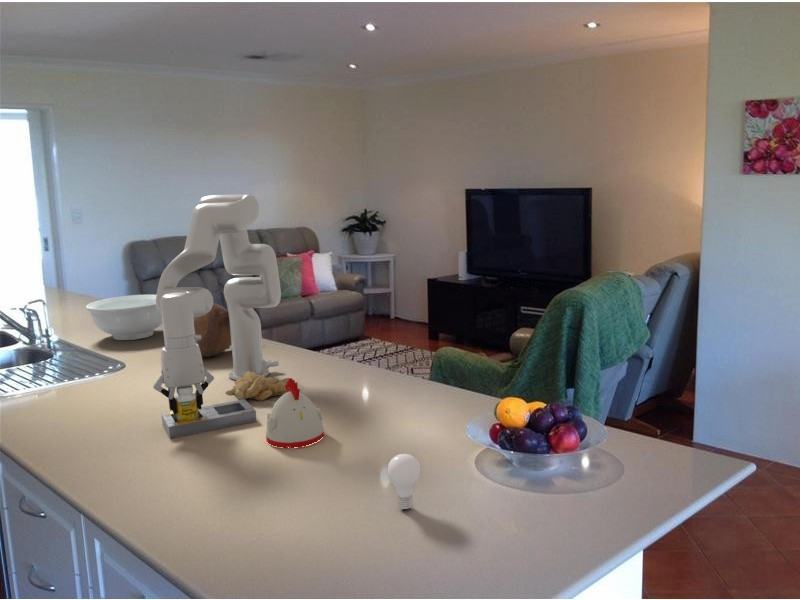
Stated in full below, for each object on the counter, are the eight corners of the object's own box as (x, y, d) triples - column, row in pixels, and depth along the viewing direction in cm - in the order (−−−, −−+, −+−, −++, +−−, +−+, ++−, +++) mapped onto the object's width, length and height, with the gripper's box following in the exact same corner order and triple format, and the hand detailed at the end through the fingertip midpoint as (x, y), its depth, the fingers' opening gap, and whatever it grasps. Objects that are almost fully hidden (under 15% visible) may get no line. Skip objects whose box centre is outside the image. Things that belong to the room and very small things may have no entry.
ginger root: (215, 394, 210) (219, 366, 210) (260, 393, 222) (264, 367, 222) (247, 407, 199) (252, 378, 199) (294, 406, 211) (298, 378, 211)
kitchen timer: (276, 453, 169) (272, 391, 166) (259, 435, 181) (255, 377, 178) (332, 441, 175) (329, 381, 172) (312, 424, 187) (308, 367, 184)
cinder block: (245, 409, 200) (244, 398, 199) (256, 421, 190) (255, 409, 190) (162, 425, 190) (161, 413, 190) (169, 438, 181) (168, 426, 180)
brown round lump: (198, 366, 245) (261, 360, 270) (209, 311, 242) (272, 309, 267) (160, 348, 256) (224, 343, 281) (170, 294, 253) (234, 294, 278)
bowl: (103, 329, 309) (99, 295, 306) (181, 325, 312) (178, 291, 310) (79, 348, 277) (74, 310, 275) (166, 343, 281) (162, 305, 278)
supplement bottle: (195, 417, 191) (191, 382, 190) (201, 423, 187) (198, 387, 185) (174, 422, 188) (171, 386, 187) (180, 427, 184) (177, 391, 182)
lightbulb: (387, 502, 142) (385, 449, 140) (420, 500, 143) (418, 447, 140) (390, 518, 136) (387, 462, 134) (423, 515, 136) (422, 460, 134)
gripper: (210, 334, 191) (216, 400, 194) (142, 343, 183) (149, 412, 187) (217, 340, 184) (223, 408, 188) (146, 350, 177) (154, 421, 180)
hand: (186, 409), depth 187 cm, fingers closed on supplement bottle, 5 cm apart
